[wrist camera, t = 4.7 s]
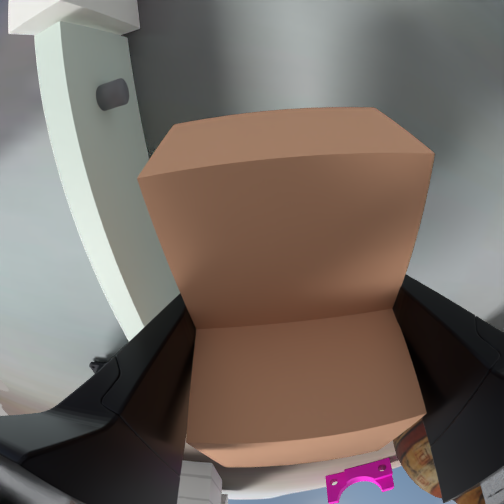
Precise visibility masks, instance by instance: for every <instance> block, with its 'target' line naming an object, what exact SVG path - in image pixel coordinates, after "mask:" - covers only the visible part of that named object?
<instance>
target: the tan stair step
mask: <svg viewBox="0 0 504 504" xmlns="http://www.w3.org/2000/svg"><path fill="white" fill-rule="evenodd" d="M434 156H435V153H434V152H432V151H431V150H430V149H429V148H428V147H427V146H425V145H424V144H423V143H422V142H420V141H419V140H418V139H417V138H415V137H414V136H413V135H412V134H410V133H409V132H408V131H407V130H405V129H404V128H403V127H401V126H400V125H399V124H397V123H396V122H395V121H393V120H392V119H390V118H389V117H388V116H386V115H385V114H383V113H382V112H381V111H379V110H378V109H376V108H373V107H324V108H300V109H285V110H272V111H261V112H252V113H243V114H235V115H227V116H220V117H214V118H207V119H201V120H195V121H189V122H184V123H179V124H174V125H173V126H172V128H171V129H170V130H169V132H168V133H167V134H166V136H165V137H164V139H163V140H162V141H161V143H160V144H159V146H158V147H157V149H156V150H155V152H154V153H153V155H152V156H151V157H150V159H149V160H148V162H147V163H146V165H145V167H144V168H143V170H142V171H141V173H140V174H139V176H138V177H137V180H138V183H139V186H140V189H141V192H142V195H143V198H144V201H145V204H146V206H147V209H148V212H149V215H150V218H151V220H152V223H153V226H154V228H155V231H156V234H157V236H158V239H159V242H160V244H161V247H162V249H163V252H164V254H165V257H166V260H167V262H168V265H169V267H170V269H171V272H172V274H173V277H174V279H175V282H176V284H177V286H178V289H179V291H180V293H181V296H182V298H183V300H184V303H185V305H186V307H187V310H188V312H189V314H190V316H191V319H192V321H193V323H194V325H195V327H196V337H195V346H194V356H193V365H192V376H191V386H190V398H189V410H188V423H187V437H186V443H188V444H189V445H191V446H192V447H194V448H195V449H197V450H198V451H200V452H201V453H203V454H205V455H206V456H208V457H209V458H211V459H213V460H214V461H216V462H218V463H219V464H221V465H223V466H224V467H265V466H281V465H293V464H303V463H311V462H319V461H326V460H332V459H338V458H344V457H350V456H355V455H360V454H364V453H369V452H373V451H378V450H379V449H381V448H382V447H384V446H385V445H387V444H388V443H389V442H391V441H392V440H394V439H395V438H396V437H398V436H399V435H400V434H402V433H403V432H404V431H406V430H407V429H408V428H409V427H411V426H412V425H413V424H414V423H416V422H417V421H418V420H419V419H421V418H422V417H423V416H424V415H425V414H427V412H426V408H425V405H424V401H423V397H422V394H421V390H420V386H419V383H418V380H417V376H416V373H415V370H414V367H413V363H412V360H411V357H410V354H409V351H408V348H407V345H406V342H405V339H404V336H403V333H402V331H401V328H400V326H399V324H398V322H397V319H396V317H395V314H394V312H393V309H392V308H393V306H394V303H395V300H396V297H397V295H398V292H399V289H400V287H401V286H402V283H403V280H404V277H405V274H406V271H407V268H408V265H409V261H410V258H411V255H412V252H413V248H414V245H415V241H416V238H417V234H418V230H419V226H420V223H421V219H422V215H423V211H424V206H425V202H426V198H427V193H428V188H429V184H430V178H431V173H432V168H433V162H434Z"/></svg>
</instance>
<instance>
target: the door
mask: <svg viewBox="0 0 504 504" xmlns="http://www.w3.org/2000/svg"><path fill="white" fill-rule="evenodd" d="M34 38H35V51H36V61H37V70H38V78H39V85H40V92H41V98H42V103H43V109H44V114H45V119H46V124H47V129H48V133H49V137H50V142H51V146H52V150H53V154H54V158H55V161H56V165H57V169H58V172H59V176H60V179H61V182H62V186H63V189H64V192H65V195H66V198H67V201H68V204H69V207H70V210H71V213H72V216H73V219H74V222H75V225H76V227H77V230H78V233H79V235H80V238H81V240H82V243H83V246H84V248H85V251H86V253H87V255H88V258H89V260H90V263H91V265H92V267H93V270H94V272H95V274H96V276H97V279H98V281H99V283H100V285H101V288H102V290H103V292H104V294H105V296H106V298H107V300H108V302H109V304H110V306H111V308H112V310H113V312H114V314H115V316H116V318H117V320H118V322H119V324H120V326H121V328H122V330H123V332H124V334H125V335H126V337H127V339H128V341H130V340H131V339H132V338H133V337H134V336H136V335H137V334H138V333H139V332H140V331H141V330H142V329H143V328H144V327H145V326H146V325H147V324H148V323H149V322H150V321H151V320H152V319H153V318H154V317H155V316H156V315H158V314H159V313H160V312H161V311H162V310H163V309H164V308H165V307H166V306H167V305H168V304H169V303H170V302H171V301H172V300H173V299H174V298H175V297H177V296H178V295H179V294H180V291H179V289H178V286H177V284H176V282H175V279H174V277H173V274H172V272H171V269H170V267H169V265H168V262H167V260H166V257H165V254H164V252H163V249H162V247H161V244H160V242H159V239H158V236H157V234H156V231H155V228H154V226H153V223H152V220H151V218H150V215H149V212H148V209H147V206H146V204H145V201H144V198H143V195H142V192H141V189H140V186H139V183H138V180H137V177H138V176H139V174H140V173H141V171H142V170H143V168H144V167H145V165H146V163H147V162H148V160H149V156H148V151H147V147H146V142H145V137H144V132H143V127H142V122H141V117H140V112H139V107H138V101H137V96H136V90H135V84H134V78H133V72H132V66H131V59H130V52H129V45H128V38H127V37H124V36H120V35H117V34H113V33H110V32H106V31H102V30H98V29H94V28H90V27H86V26H82V25H77V24H73V23H68V22H63V21H59V22H57V23H55V24H53V25H52V26H50V27H48V28H47V29H45V30H43V31H41V32H40V33H38V34H37V35H35V36H34Z"/></svg>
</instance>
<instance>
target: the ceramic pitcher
mask: <svg viewBox="0 0 504 504" xmlns="http://www.w3.org/2000/svg"><path fill="white" fill-rule="evenodd" d="M393 442H394V447H395V451H396V454H397V457H398V459H399V461H400V463H401V465H402V466H403V468H404V469H405V471H406V472H407V474H408V475H409V477H410V478H411V479H412V480H413V481H414V482H415V483H416V484H417V485H418V486H419V487H420V488H422V489H423V490H425V491H426V492H428V493H430V494H432V495H433V496H435V497H439V498H442V496H441V491H440V486H439V482H438V477H437V473H436V469H435V465H434V460H433V457H432V453H431V449H430V447H431V446H430V445H429V441H428V437H427V434H426V430H425V427H424V424H423V420H422V418H421V419H419V420H418V421H417V422H416V423H414V424H413V425H412V426H411V427H409V428H408V429H407V430H406V431H404V432H403V433H402V434H400V435H399V436H398V437H396V438H395V439H394V440H393ZM452 500H454V501H455V502H456V503H457V504H486V503H485V499H484V496H483V492H482V489H481V486H479V487H477V488H475V489H473V490H471V491H469V492H467V493H465V494H463V495H461V496H459V497H457V498H455V499H452Z"/></svg>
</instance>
